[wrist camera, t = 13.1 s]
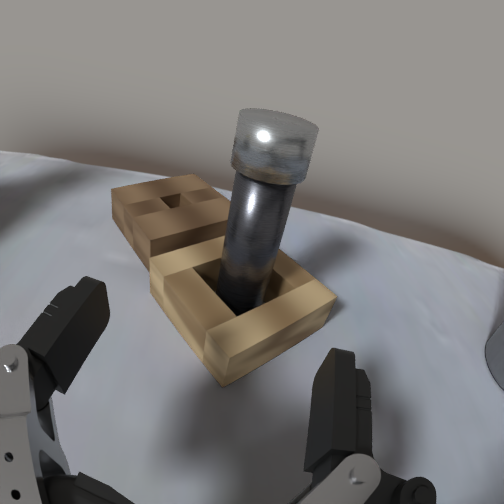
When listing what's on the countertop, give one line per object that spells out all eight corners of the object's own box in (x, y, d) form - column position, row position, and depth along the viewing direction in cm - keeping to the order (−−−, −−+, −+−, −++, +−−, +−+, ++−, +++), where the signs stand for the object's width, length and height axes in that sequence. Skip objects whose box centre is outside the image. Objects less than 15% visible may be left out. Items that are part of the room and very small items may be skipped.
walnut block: (191, 200, 38) (193, 173, 36) (241, 244, 33) (247, 214, 31) (112, 218, 32) (111, 188, 30) (150, 273, 27) (150, 240, 25)
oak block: (246, 258, 31) (252, 227, 29) (322, 327, 26) (337, 296, 23) (150, 292, 25) (149, 258, 23) (222, 387, 20) (229, 357, 17)
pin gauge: (240, 286, 28) (280, 109, 19) (274, 319, 25) (334, 132, 17) (197, 304, 25) (223, 108, 16) (230, 343, 23) (278, 131, 14)
